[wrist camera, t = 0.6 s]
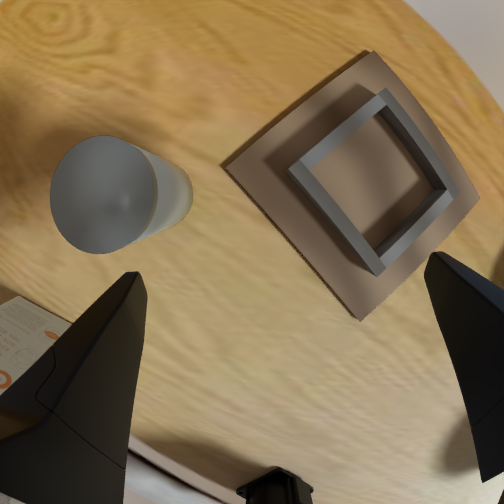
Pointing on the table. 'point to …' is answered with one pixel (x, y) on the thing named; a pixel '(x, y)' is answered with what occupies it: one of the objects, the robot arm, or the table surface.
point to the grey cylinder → (116, 194)
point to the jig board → (359, 183)
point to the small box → (24, 337)
